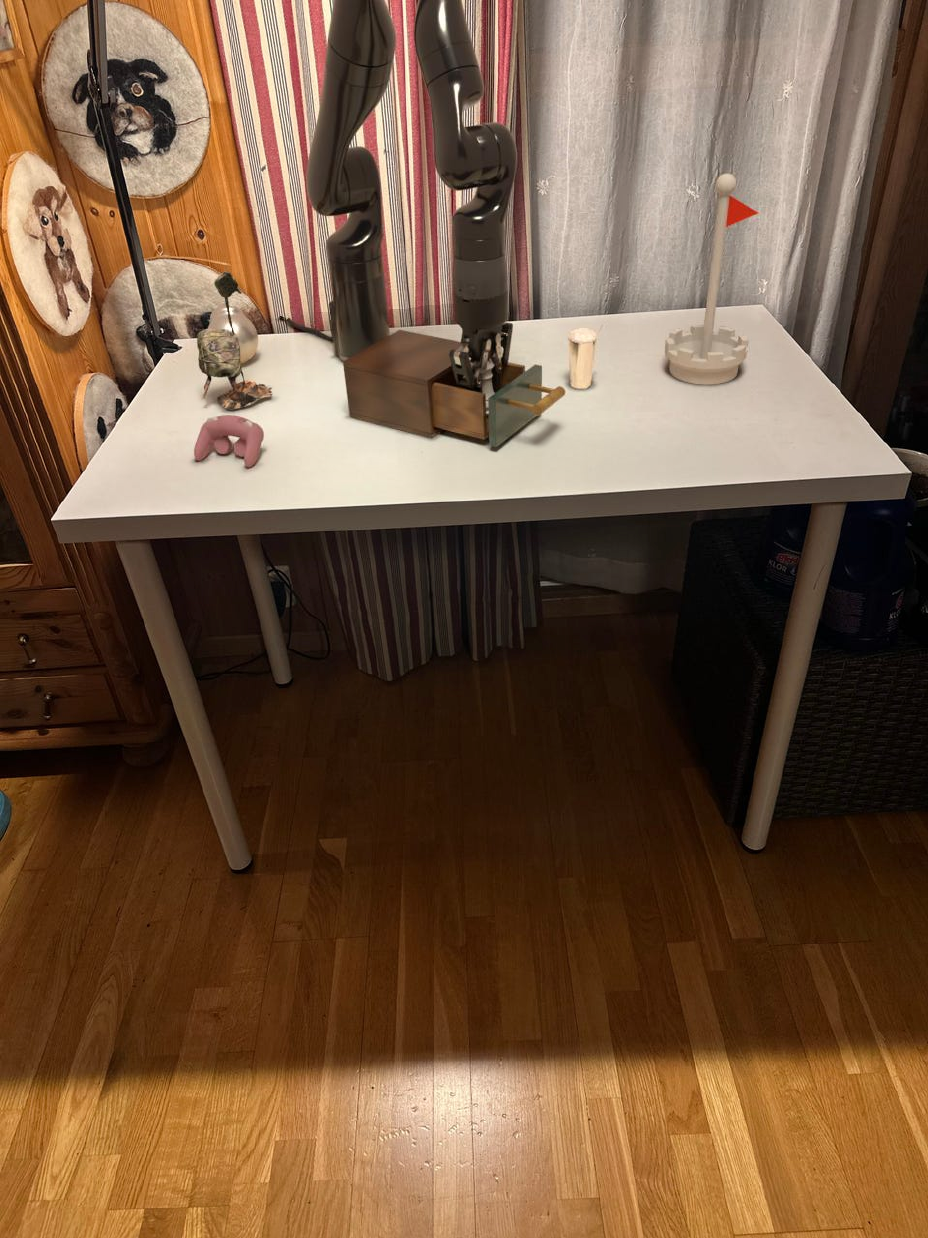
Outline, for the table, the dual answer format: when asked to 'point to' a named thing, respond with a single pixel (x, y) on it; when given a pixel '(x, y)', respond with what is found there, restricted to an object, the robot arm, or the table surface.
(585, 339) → the milkshake
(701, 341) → the flag stand
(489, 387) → the rook chess piece
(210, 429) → the video game controller
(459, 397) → the drawer
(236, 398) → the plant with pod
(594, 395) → the table surface
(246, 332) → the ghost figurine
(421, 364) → the cabinet
